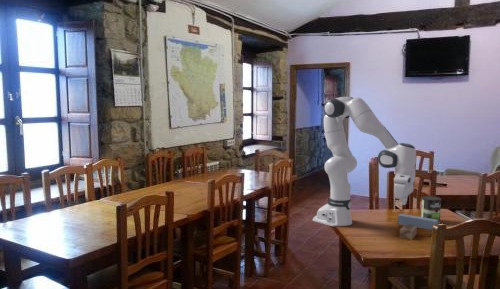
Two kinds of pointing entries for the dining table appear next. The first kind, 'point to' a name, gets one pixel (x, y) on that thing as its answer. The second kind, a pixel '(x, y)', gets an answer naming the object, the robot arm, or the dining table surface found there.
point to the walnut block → (408, 231)
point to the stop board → (416, 221)
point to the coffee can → (431, 207)
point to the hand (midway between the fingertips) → (404, 204)
